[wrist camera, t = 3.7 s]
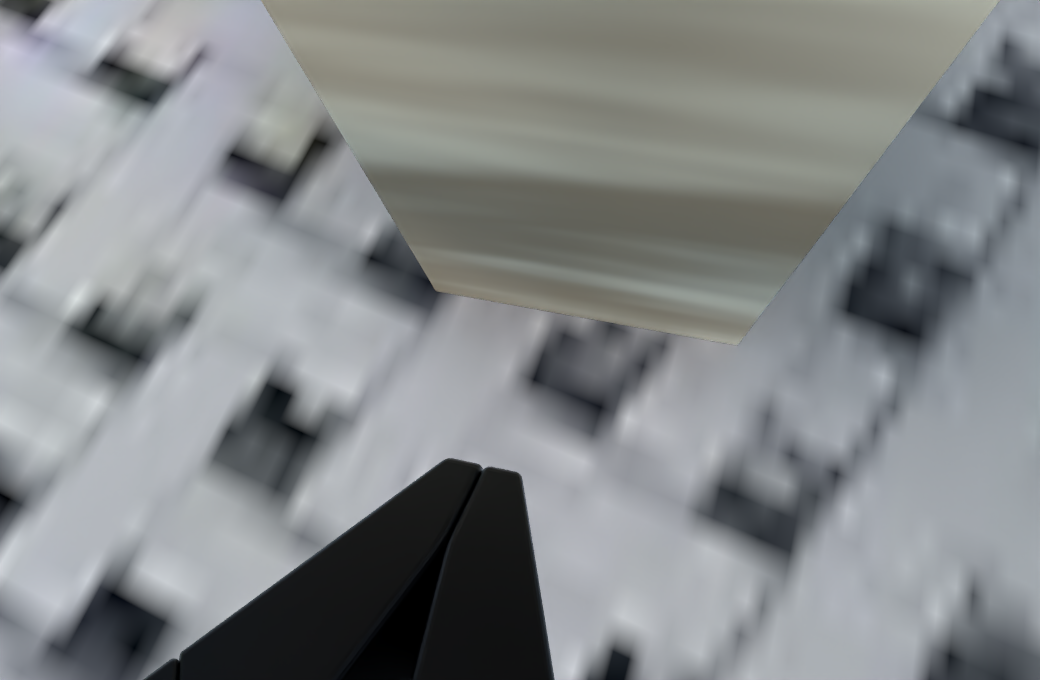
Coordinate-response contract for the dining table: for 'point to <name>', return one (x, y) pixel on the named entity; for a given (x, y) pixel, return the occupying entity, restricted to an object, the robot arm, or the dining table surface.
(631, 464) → the dining table surface
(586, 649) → the dining table surface
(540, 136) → the tile
